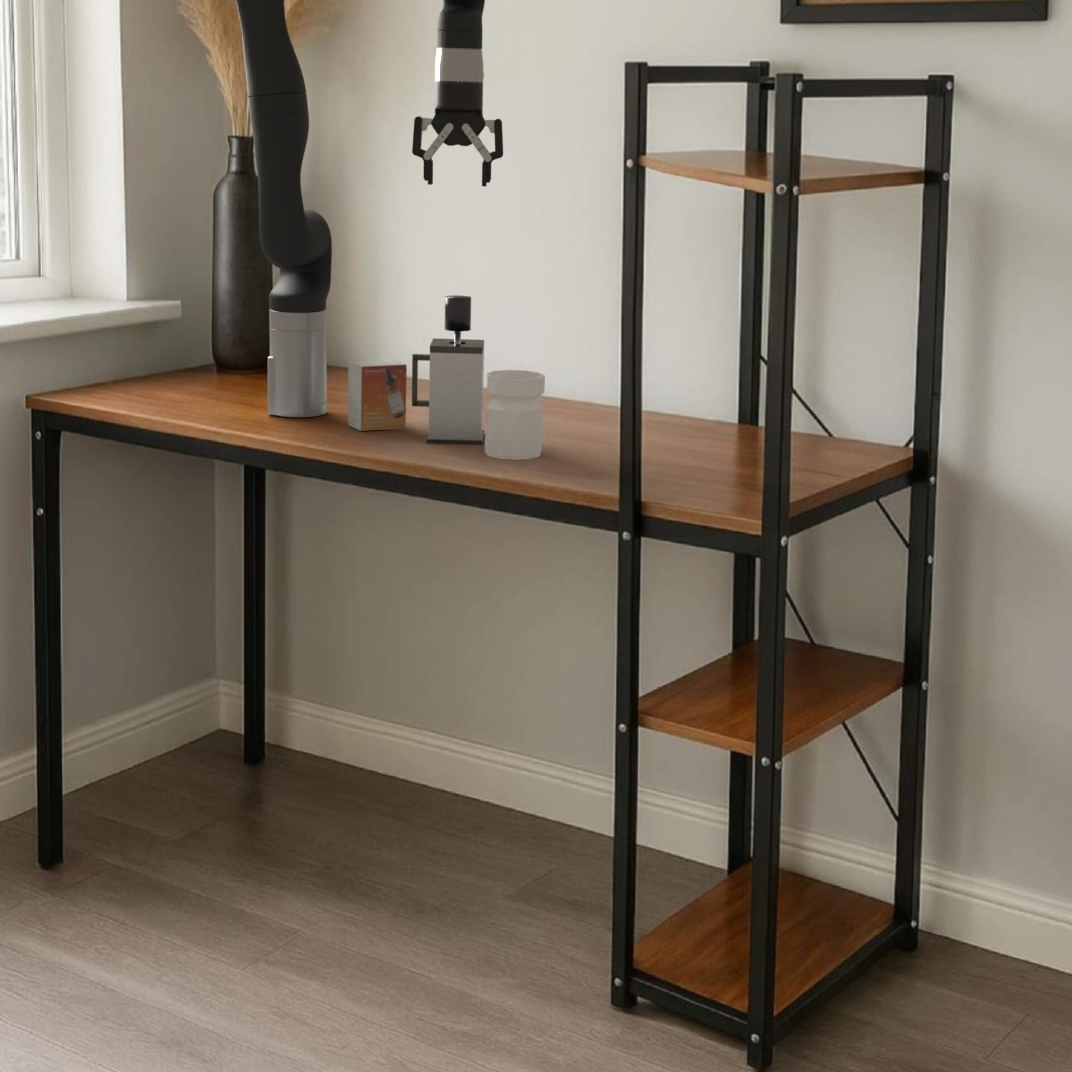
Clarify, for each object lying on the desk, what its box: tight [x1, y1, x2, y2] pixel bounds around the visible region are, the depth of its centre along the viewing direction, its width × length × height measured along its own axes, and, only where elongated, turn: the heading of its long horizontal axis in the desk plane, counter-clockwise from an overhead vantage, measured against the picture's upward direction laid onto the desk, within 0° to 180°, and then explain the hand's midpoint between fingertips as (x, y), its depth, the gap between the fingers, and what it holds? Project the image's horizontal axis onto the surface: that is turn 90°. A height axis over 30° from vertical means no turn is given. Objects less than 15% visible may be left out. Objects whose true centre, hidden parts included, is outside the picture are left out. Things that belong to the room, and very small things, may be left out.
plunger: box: [444, 294, 472, 344], centre depth 260 cm, size 5×5×21 cm
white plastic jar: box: [484, 369, 546, 461], centre depth 252 cm, size 9×9×12 cm
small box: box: [347, 359, 408, 432], centre depth 268 cm, size 8×6×10 cm
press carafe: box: [411, 338, 485, 446], centre depth 261 cm, size 11×9×15 cm
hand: (457, 185), depth 266 cm, fingers open, 8 cm apart
